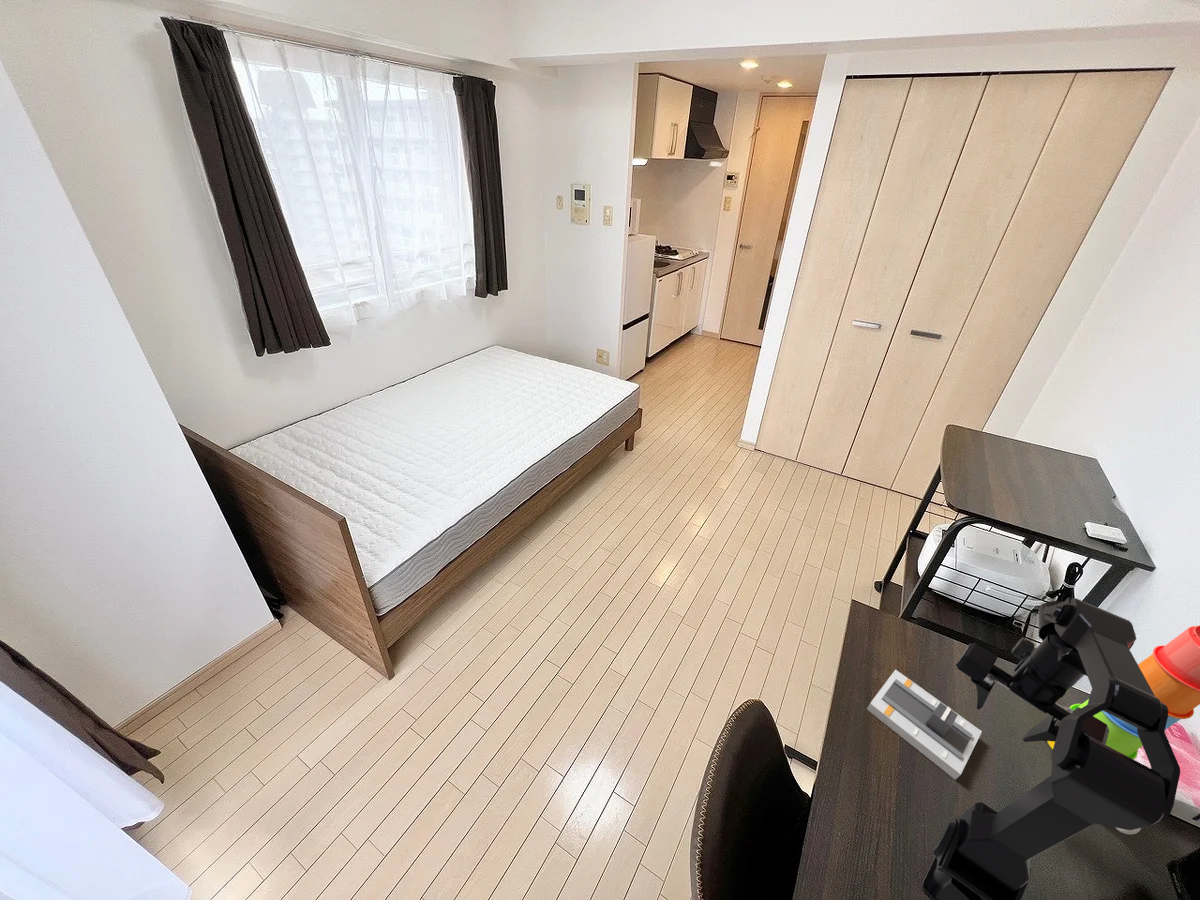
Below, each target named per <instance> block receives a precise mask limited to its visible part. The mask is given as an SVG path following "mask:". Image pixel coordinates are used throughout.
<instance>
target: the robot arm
mask: <svg viewBox="0 0 1200 900" xmlns="http://www.w3.org/2000/svg"><path fill="white" fill-rule="evenodd" d="M1038 636H1039V639H1040V640H1041V643H1039V645H1038V646H1037V647H1035V646H1036V645H1035V643H1034V642H1032V641H1031V640H1028V639H1027V638H1025V637H1024V636H1022V637H1021V638H1020V639H1019V640H1018V641H1017V643H1015V645H1014V646H1013V648H1012V650H1011V655H1012V656H1014V657H1016V658H1017V659H1019V660H1020V661H1019V662H1018V664H1017V665H1016V666H1015V667H1014V669H1013V671H1014V673H1013V674H1012V675H1011V674H1009V673H1008V672H1006V671H1005V670H1003V669H1002V668H1000V667H998V666H997V665H996V664H995V663H997V662H996V661H997V660H998V658H999V657H998V656H997V655H996V654H994V653H993V652H991V651H990V650H988V649H986V648H985V647H983V646H982V645H980V644H978V643H976V642H973V643H969V644H968V646H967V647H966V649H965V650H964V652H963V653H962V654H961V656H960V657H959V659H958V661H957V662H956V664H955V665H956V667H957V669H958V670H959V671H960V672H962V673H963V674H965V675H966V676H968V677H969V679H970V681H971V683H972V684H974V685H975V688H976V693H977V701H976V709H977V710H979V711H980V710H981V709H982V708H983V707H984V704H985V703H986V701H987V700H988V697H989V696H990V695H991V694H990V693H991V691H992V690H993V688H994V685H995V683H997V684H999V685H1001V686H1002V687H1003V688H1005V689H1006V690H1008V691H1009V692H1011V693H1012V694H1014V695H1016V696H1018V697H1019V698H1020V699H1022V700H1023V701H1024V702H1027V703H1028V704H1030V705H1031V706H1033V707H1034V708H1035V709H1038V710H1039V711H1040V712H1043V713H1044V714H1049V715H1048V716H1047V717H1046V718H1045V719H1043V720H1042V721H1040V722H1039V723H1037V724H1036V725H1035V726H1034V727H1032V728H1030V730H1028V731H1027V732H1026V733H1025V734H1024V735H1023V738H1022V742H1024V743H1029V742H1033V743H1034V742H1047V741H1053V742H1055V744H1054V747H1053V750H1052V749H1051V775H1050V776H1048V777H1046V779H1044V780H1043V781H1041V782H1039V783H1038V784H1037V785H1035V786H1034V787H1032V788H1031V789H1029V790H1028V791H1027V792H1025V793H1024V794H1023V795H1021V796H1020V797H1018V798H1017V799H1015V800H1014V801H1013V802H1011V803H1010V804H1008V805H1007V806H1005V807H1003V808H1002V809H1001V810H1000V811H996V810H994V809H993V808H991V807H990V806H988V805H987V804H985V803H984V802H975V803H974V805H972V806H971V808H967V809H965V813H963V814H961V815H960V816H959V815H957V816H955V817H953V818H952V819H951V821H950V822H948V823H947V825H946V827H945V828H944V831H943V833H942V835H941V837H940V839H939V841H938V843H937V844H935V846H933V849H932V852H933V854H934V857H933V860H932V862H931V863H930V866H929V868H928V870H927V872H926V874H925V877H924V879H923V880H922V883H921V889H922V890H923V891H924V892H925V893H926V894H927V895H928V896H929V897H930V898H931V899H932V900H1022V898H1023V897H1024V893H1025V891H1026V888H1027V886H1028V885H1029V884H1028V883H1029V881H1030V878H1031V873H1032V872H1031V859H1034V858H1036V856H1038V855H1041V854H1042V853H1044V852H1046V851H1048V850H1050V849H1051V848H1053V847H1056V846H1057V845H1058V844H1060V843H1062V842H1064V841H1067V840H1068V839H1070V838H1072V837H1073V836H1076V835H1077V834H1079V833H1081V832H1083V831H1085V830H1087V829H1088V828H1090V827H1092V826H1094V825H1101V826H1107V827H1111V828H1115V829H1116V828H1121V829H1126V830H1134V829H1138V828H1141V829H1142V828H1147V827H1151V826H1153V825H1155V824H1157V823H1161V822H1164V821H1165V820H1167V819H1168V817H1169V816H1170V815H1171V813H1172V812H1173V811H1172V810H1173V808H1174V804H1175V800H1176V799H1175V798H1176V795H1177V791H1178V785H1179V781H1180V778H1181V777H1180V776H1181V767H1180V765H1179V763H1178V760H1177V757H1176V756H1175V755H1176V754H1175V753H1174V751H1173V749H1172V746H1171V744H1170V742H1169V739H1168V737H1167V734H1166V730H1165V727H1166V723H1167V719H1168V708H1167V706H1166V705H1165V704H1164V703H1162V702H1160V700H1159V699H1158V698H1157V697H1156V696H1155V695H1154V693H1153V691H1152V690H1151V688H1150V686H1149V684H1148V682H1147V681H1146V679H1145V677H1144V675H1143V673H1142V671H1141V670H1140V668H1139V666H1138V664H1139V663H1137V661H1136V658H1135V657H1134V656H1133V654H1132V652H1131V648H1132V647H1133V645H1134V644H1135V642H1136V640H1137V635H1136V632H1135V628H1134V625H1133V624H1132V622H1131V621H1130V620H1129V619H1126V618H1124V617H1122V616H1120V615H1117V614H1114V613H1112V612H1110V611H1107V610H1105V609H1102V608H1101V607H1097V606H1095V605H1093V604H1091V603H1088V602H1086V601H1084V600H1081V599H1079V598H1077V597H1074V598H1072V597H1067V598H1066V599H1065V600H1063V601H1061V600H1053V601H1047V602H1045V603H1042V604H1041V605H1040V606H1039V607H1038ZM1084 676H1087V679H1088V681H1089V683H1090V686H1091V690H1090V694H1089V698H1088V699H1089V701H1088V704H1087V705H1086V706H1084V707H1083V708H1079V707H1077V708H1076V709H1074V710H1072V709H1071V708H1069V707H1070V706H1063V705H1061V704H1059V703H1058V702H1059V700H1061V699H1062V698H1063V697H1064V696H1065V695H1066V693H1068V691H1070V690H1071V689H1072V687H1074V686H1075V685H1076V684H1077V683H1078V682H1079V681H1080V680H1081V678H1083V677H1084ZM1101 711H1105V712H1107V713H1109V714H1111V715H1113V716H1115V717H1117V718H1119V719H1121V720H1123V721H1125V722H1127V723H1129V724H1130V725H1132V726H1134V727H1136V728H1137V732H1138V735H1139V738H1140V740H1141V743H1142V745H1143V746H1142V748H1143V750H1144V752H1145V755H1146V757H1147V758H1146V759H1147V760H1148V762H1149V765H1150V767H1148V766H1147V765H1145V764H1143V763H1141V762H1139V761H1138V760H1135V759H1132V758H1130V757H1128V756H1126V755H1124V754H1122V753H1120V752H1118V751H1116V750H1114V749H1113V748H1111V747H1109V746H1107V745H1106V741H1107V738H1108V734H1109V729H1108V726H1107V724H1105V723H1104V722H1102V721H1100V720H1099V719H1097V718H1095V717H1094V715H1095V714H1097V713H1099V712H1101Z"/></svg>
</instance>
